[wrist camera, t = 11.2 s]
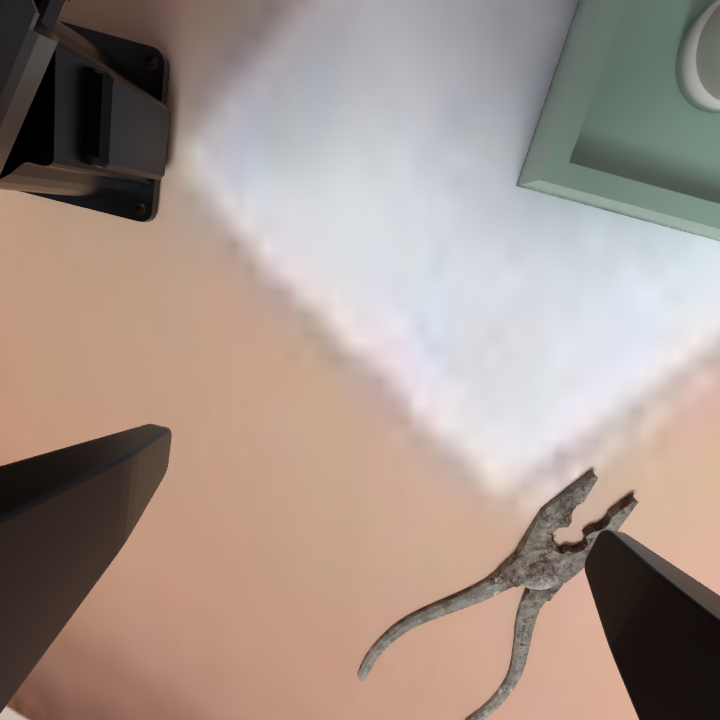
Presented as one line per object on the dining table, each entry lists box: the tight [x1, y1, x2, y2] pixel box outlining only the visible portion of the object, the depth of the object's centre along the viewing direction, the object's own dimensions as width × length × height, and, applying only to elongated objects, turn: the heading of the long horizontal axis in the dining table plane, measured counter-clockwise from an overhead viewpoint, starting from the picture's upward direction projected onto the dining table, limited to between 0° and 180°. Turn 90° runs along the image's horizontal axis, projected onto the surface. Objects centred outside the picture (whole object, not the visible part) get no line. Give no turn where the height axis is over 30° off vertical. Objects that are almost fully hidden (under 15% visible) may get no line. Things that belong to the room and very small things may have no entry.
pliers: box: [358, 471, 638, 720], centre depth 25 cm, size 10×1×20 cm
